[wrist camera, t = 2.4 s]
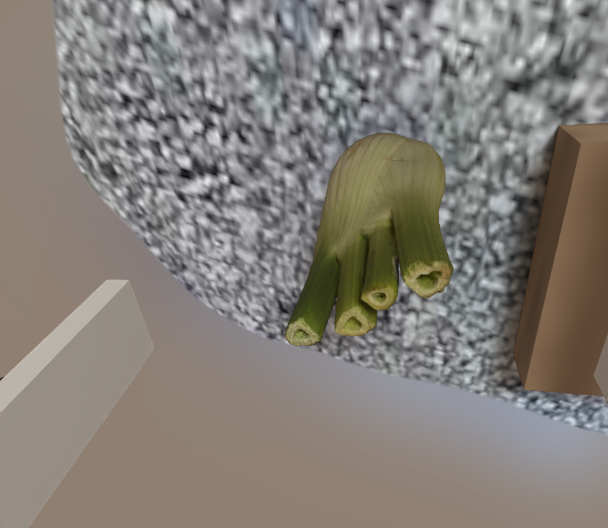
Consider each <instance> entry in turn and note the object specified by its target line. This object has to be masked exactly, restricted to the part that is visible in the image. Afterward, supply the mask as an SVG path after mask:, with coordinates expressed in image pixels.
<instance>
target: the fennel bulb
mask: <svg viewBox="0 0 608 528" xmlns="http://www.w3.org/2000/svg"><path fill="white" fill-rule="evenodd" d="M445 180H446V179H445V170H444V165H443V163H442V159H441V157H440V156H439V155H438V153H437V152H436V151H435V149H434V148H433V147H432V146H431V145H429V144H427V143H424V142H422V141H418V140H413V139H409V138H406V137H404V136H400V135H397V134H393V133H376V134H373V135H370V136H367V137H364V138H362V139H360V140H358V141H357V142H355V143H354V144H353V145H352V146H350V147H349V148H348V149H347V150H346V151H345V152H344V153H343V154H342V155H341V157H340V158H339V160H338V162H337V163H336V165H335V167H334V169H333V171H332V174H331V176H330V179H329V183H328V188H327V193H326V197H325V202H324V206H323V210H322V217H321V222H320V226H319V231H318V235H317V241H316V245H315V252H314V258H313V263H312V266H311V268H310V272H309V275H308V278H307V280H306V282H305V286H304V288H303V290H302V293H301V295H300V297H299V300H298V302H297V304H296V306H295V309H294V311H293V313H292V316H291V318H290V320H289V323H288V325H287V327H286V334H285V338H286V339H287V341H288V342H289V343H290V344H292V345H295V346H300V345H309V346H311V345H315V344H316V343H318V342H320V341H321V339H322V337H323V333H324V330H325V328H326V325H327V322H328V319H329V317H330V314H331V311H332V309H333V306H334V304H335V300H336V298H337V302H336V314H335V331H336V333H337V334H339V335H347V336H358V335H363V334H366V333H368V332H369V331H371V330H372V329H373V328H375V327H376V324H377V310H386V309H389V308H390V307H391V306H392V305H393V304H394V303H395V301H396V298H397V295H398V287H399V271H398V269H399V264H400V270H401V275H402V278H403V280H404V283H405V284H406V286H408V287H410V288H411V289H412V290H413V291H414V292H415V293H417V294H418V295H420V296H421V297H423V298H429V297H431V296H433V295H434V294H435V293H437V292H439V293H441V292H442V291H444V288H445V287H446V286H447V285H448V284H449V282H450V277H451V276H452V273H453V270H454V269H453V266H452V264H451V261H450V259H449V257H448V253H447V251H446V248H445V245H444V240H443V238H442V234H441V230H440V224H439V220H438V219H439V208H440V204H441V201H442V198H443V194H444V189H445Z"/></svg>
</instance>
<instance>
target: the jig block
mask: <svg viewBox="0 0 608 528" xmlns="http://www.w3.org/2000/svg"><path fill="white" fill-rule="evenodd" d="M607 335H608V123H599V124H579V125H559V128H558V133H557V138H556V143H555V148H554V153H553V158H552V163H551V167H550V172H549V177H548V182H547V187H546V192H545V197H544V202H543V207H542V212H541V217H540V222H539V227H538V232H537V237H536V242H535V247H534V252H533V257H532V262H531V267H530V272H529V277H528V282H527V287H526V292H525V297H524V302H523V307H522V312H521V317H520V322H519V326H518V331H517V336H516V341H515V346H514V351H513V354H514V358H515V361H516V365H517V368H518V371H519V375H520V378H521V381H522V385H523V388H524V390H534V391H546V392H559V393H571V394H584V395H596V396H604V395H603V393H602V391H601V389H600V387H599V385H598V383H597V382H596V380H595V378H594V376H593V375H594V373H595V370H596V367H597V364H598V361H599V358H600V355H601V352H602V349H603V346H604V343H605V340H606V338H607Z"/></svg>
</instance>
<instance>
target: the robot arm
mask: <svg viewBox="0 0 608 528" xmlns="http://www.w3.org/2000/svg"><path fill="white" fill-rule="evenodd" d="M154 349H155V348H154V345H153V343H152V340H151V338H150V335H149V332H148V329H147V327H146V324H145V321H144V319H143V316H142V313H141V311H140V308H139V305H138V303H137V300H136V297H135V294H134V292H133V289H132V286H131V284H130V281H129V280H106V281H105V282H104V283H103V284H102V285H101V286H100V287H99V288H98V289H97V290H96V291H95V292H94V293H93V294H91V295H90V296H89V297H88V298H87V299H86V300H85V301H84V302H83V303H82V304H81V305H80V306H79V307H78V308H77V309H76V310H75V311H74V312H73V313H71V314H70V315H69V316H68V317H67V318H66V319H65V320H64V321H63V322H62V323H61V324H60V325H59V326H58V327H57V328H56V329H55V330H54V331H52V332H51V333H50V335H48V336H47V337H46V338H45V339H44V340H43V341H42V342H41V343H40V344H39V345H38V346H37V347H36V348H35V349H34V350H32V351H31V352H30V353H29V354H28V355H27V356H26V357H25V358H24V359H23V360H22V361H21V362H20V363H19V364H18V365H17V366H16V367H15V368H14V369H12V370H11V371H10V372H9V374H7V375H6V376H5V377H2V378H0V528H28V527H29V526H30V525H31V523H32V522H33V520H34V519H35V518H36V516H37V515H38V513H39V512H40V510H41V509H42V508H43V506H44V505H45V503H46V502H47V500H48V499H49V498H50V496H51V495H52V493H53V492H54V491H55V489H56V488H57V486H58V485H59V484H60V482H61V481H62V479H63V478H64V476H65V475H66V474H67V472H68V471H69V469H70V468H71V467H72V465H73V464H74V462H75V461H76V459H77V458H78V457H79V455H80V454H81V452H82V451H83V450H84V448H85V447H86V445H87V444H88V443H89V441H90V440H91V438H92V437H93V435H94V434H95V433H96V431H97V430H98V428H99V427H100V426H101V424H102V423H103V421H104V420H105V418H106V417H107V416H108V414H109V413H110V411H111V410H112V409H113V407H114V406H115V404H116V403H117V401H118V400H119V399H120V397H121V396H122V394H123V393H124V392H125V390H126V389H127V387H128V386H129V384H130V383H131V382H132V380H133V379H134V377H135V376H136V375H137V373H138V372H139V370H140V369H141V368H142V366H143V365H144V363H145V362H146V360H147V359H148V358H149V356H150V355H151V353H152V352H153V351H154ZM593 376H594V378H595V380H596V382H597V383H598V385H599V387H600V389H601V391H602V393H603V395H604V397H605V399H606V401H607V403H608V335H607V338H606V340H605V343H604V346H603V349H602V352H601V355H600V358H599V361H598V364H597V367H596V370H595V373H594V375H593Z"/></svg>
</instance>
